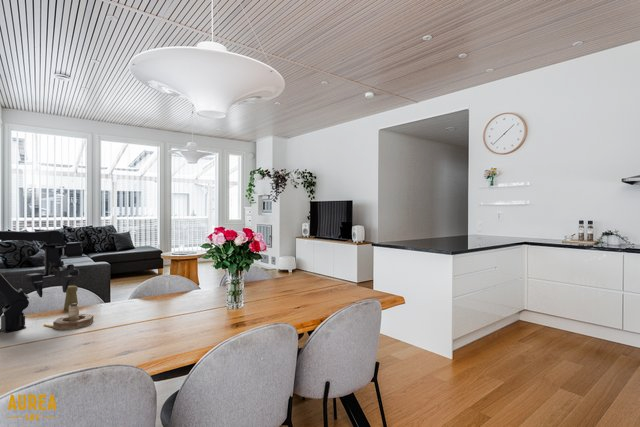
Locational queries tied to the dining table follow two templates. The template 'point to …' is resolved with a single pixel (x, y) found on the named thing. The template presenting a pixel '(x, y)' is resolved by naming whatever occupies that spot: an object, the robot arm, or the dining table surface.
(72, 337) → the dining table surface
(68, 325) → the brown octagonal ring
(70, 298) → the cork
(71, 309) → the beige wooden peg
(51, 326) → the thin yellow rod
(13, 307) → the robot arm
